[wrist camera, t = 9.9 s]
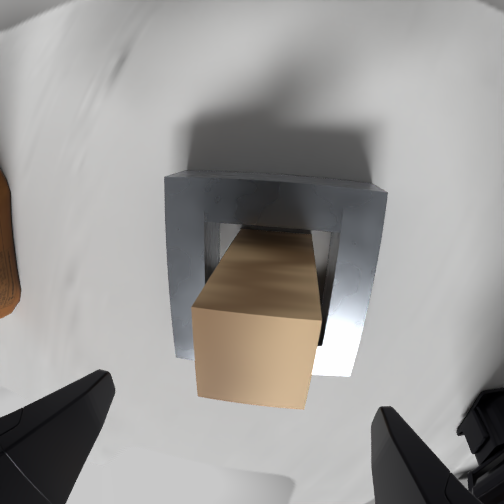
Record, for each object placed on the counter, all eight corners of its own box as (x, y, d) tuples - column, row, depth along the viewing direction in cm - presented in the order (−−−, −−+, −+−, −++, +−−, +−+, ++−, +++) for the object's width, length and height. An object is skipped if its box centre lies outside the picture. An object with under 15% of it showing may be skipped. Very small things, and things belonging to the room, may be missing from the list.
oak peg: (311, 234, 19) (322, 320, 10) (304, 297, 21) (304, 409, 12) (240, 228, 20) (191, 306, 11) (239, 291, 21) (197, 396, 12)
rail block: (372, 183, 18) (387, 192, 14) (344, 345, 22) (349, 376, 18) (186, 170, 19) (164, 176, 16) (191, 329, 23) (175, 357, 20)
